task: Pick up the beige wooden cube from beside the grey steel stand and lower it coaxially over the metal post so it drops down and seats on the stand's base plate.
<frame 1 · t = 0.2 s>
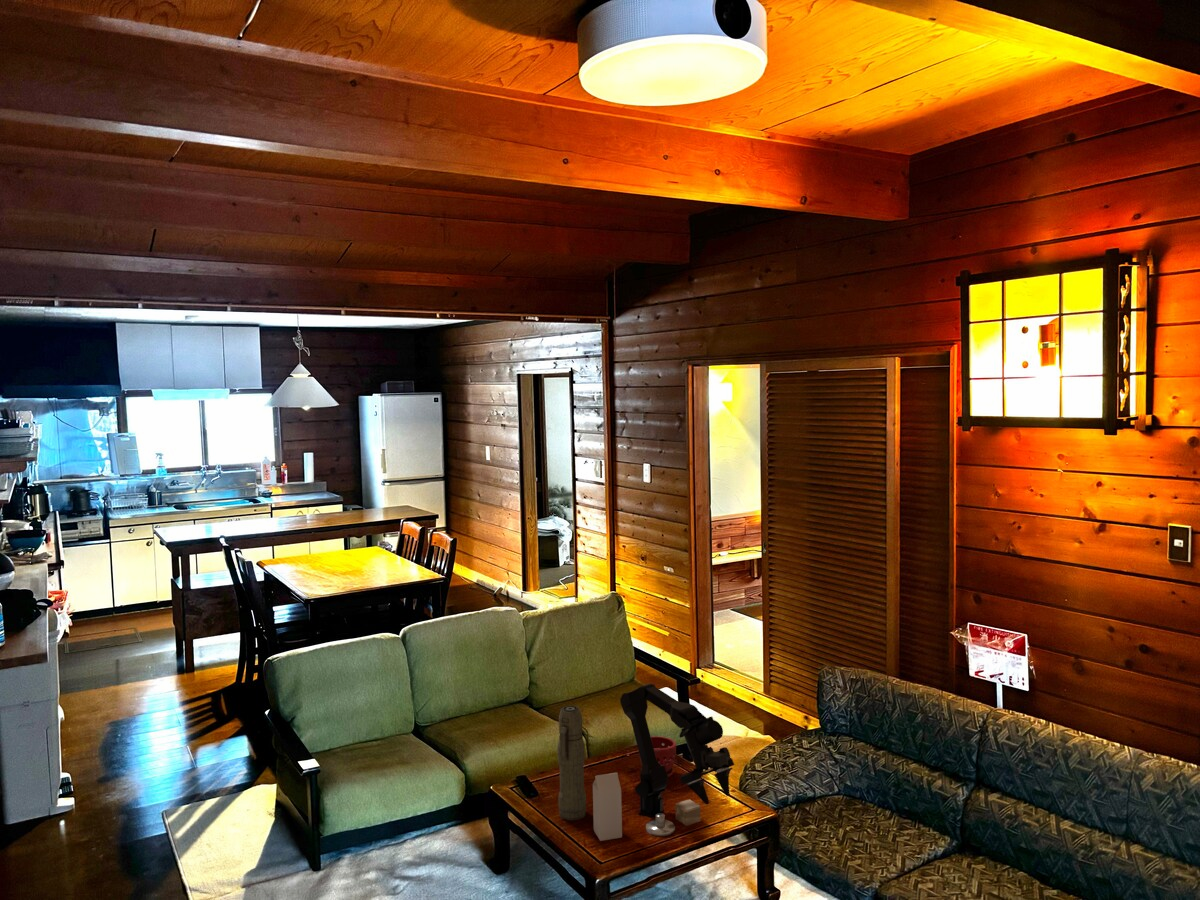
hand: (718, 799, 264), 15 cm above the table, tool tilted 30°, fingers open, 9 cm apart
beige wooden cube: (687, 820, 282), on the table
milk carton: (607, 834, 274), on the table
post stand: (660, 829, 277), on the table
thermos: (572, 814, 288), on the table
plant pot: (658, 775, 317), on the table
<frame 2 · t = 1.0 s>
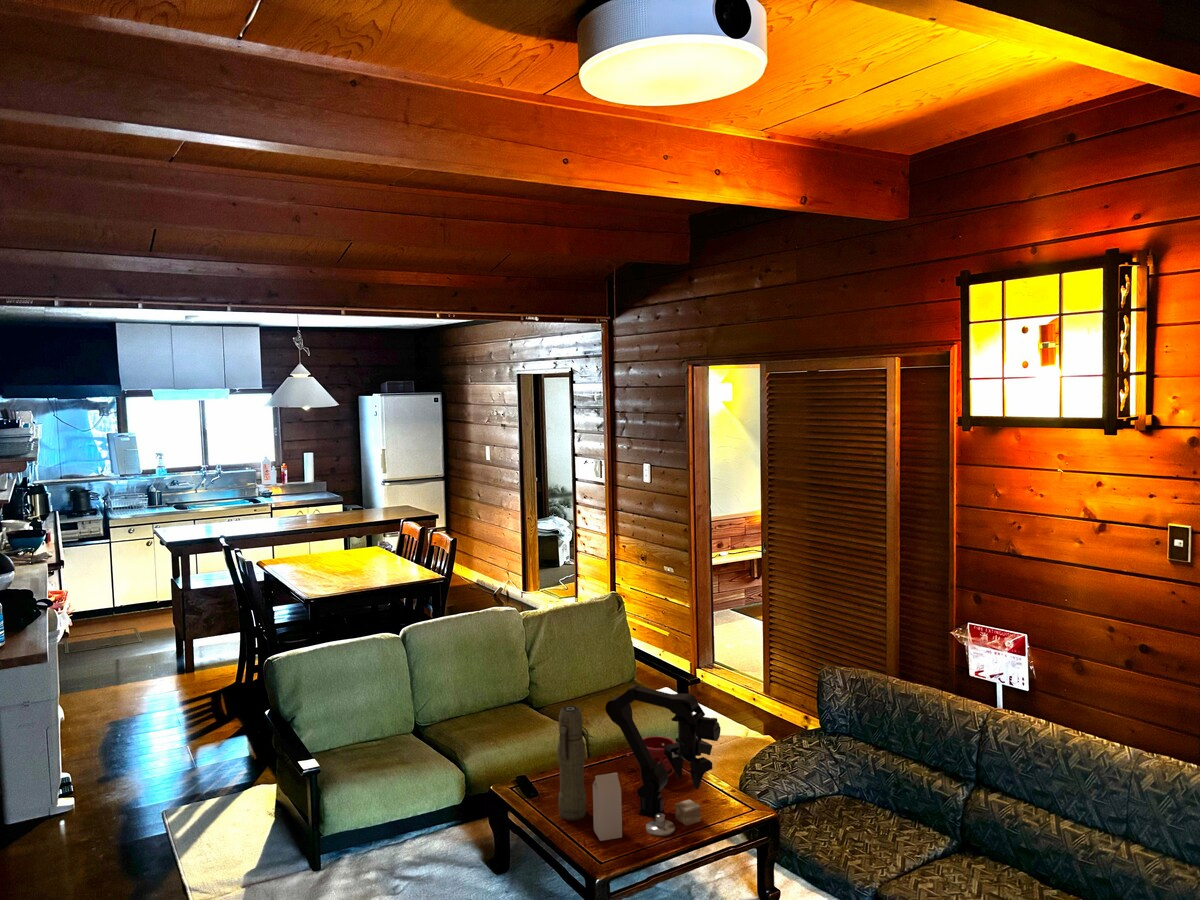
hand: (688, 783, 281), 12 cm above the table, tool pointing down, fingers open, 9 cm apart
nothing on the table moved.
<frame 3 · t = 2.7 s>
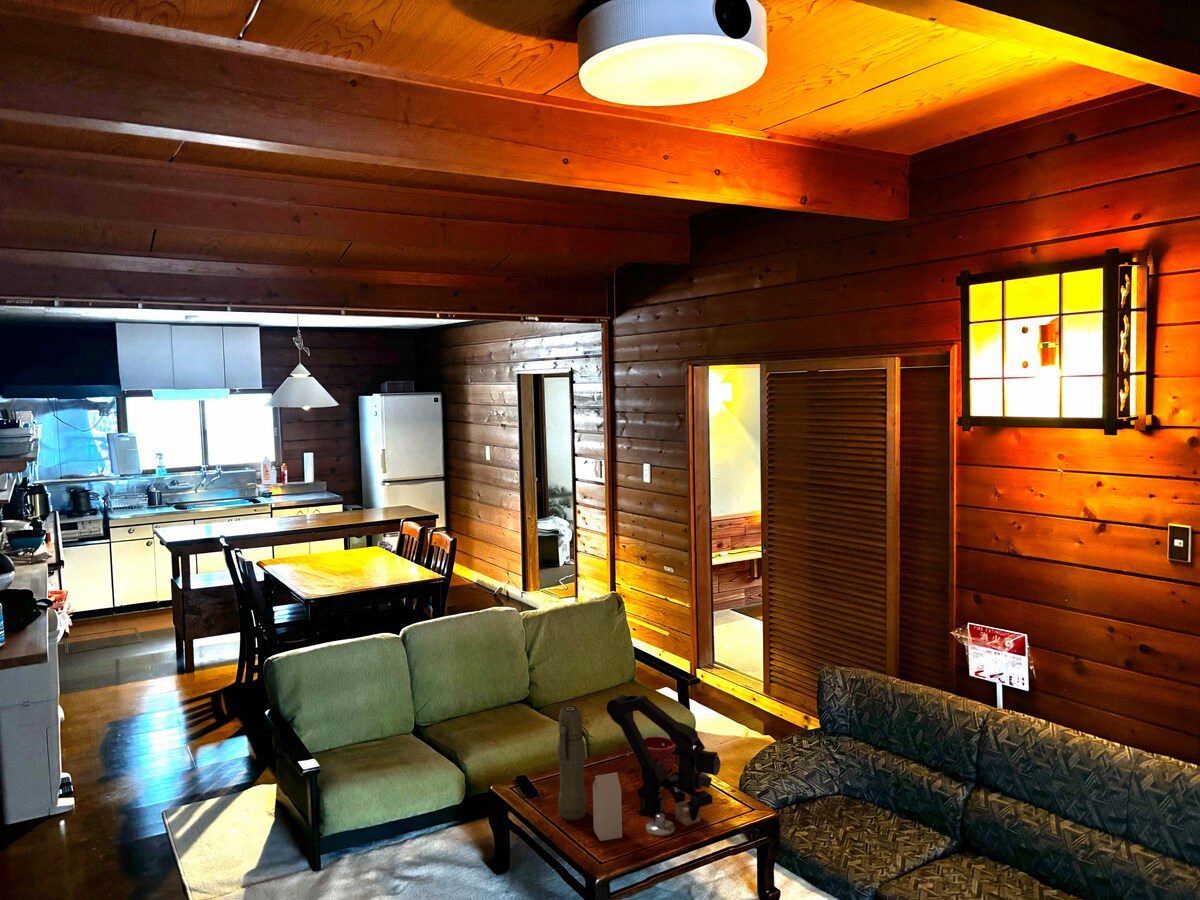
hand: (687, 816, 282), 1 cm above the table, tool pointing down, fingers closed on beige wooden cube, 6 cm apart
beige wooden cube: (688, 820, 282), on the table, touching gripper
everything else where it was.
when the fingers open (4 cm above the table, at t = 7.6 s): beige wooden cube drops 2 cm, resting on post stand.
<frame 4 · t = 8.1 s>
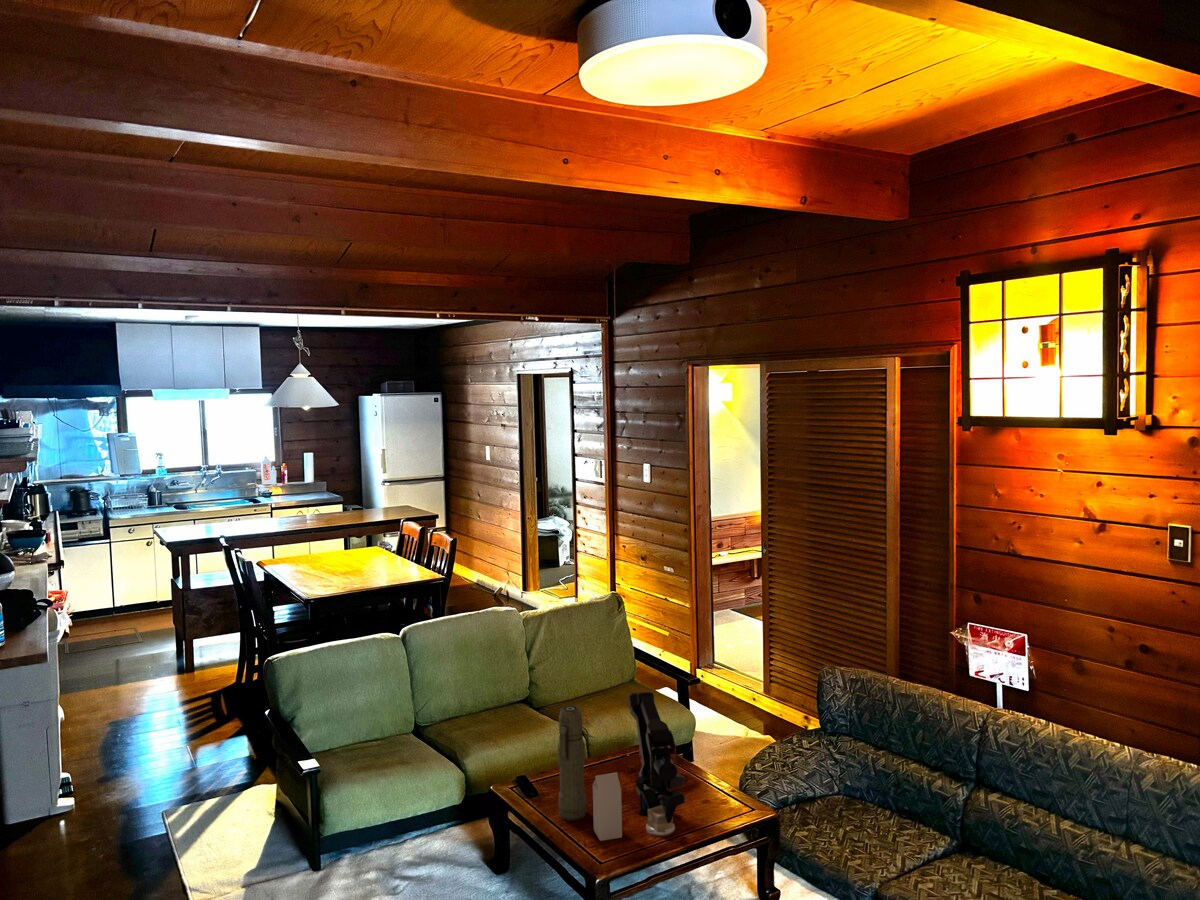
hand: (660, 816, 277), 4 cm above the table, tool pointing down, fingers open, 9 cm apart
beige wooden cube: (660, 826, 277), point 1 cm above the table, touching post stand
everything else where it was.
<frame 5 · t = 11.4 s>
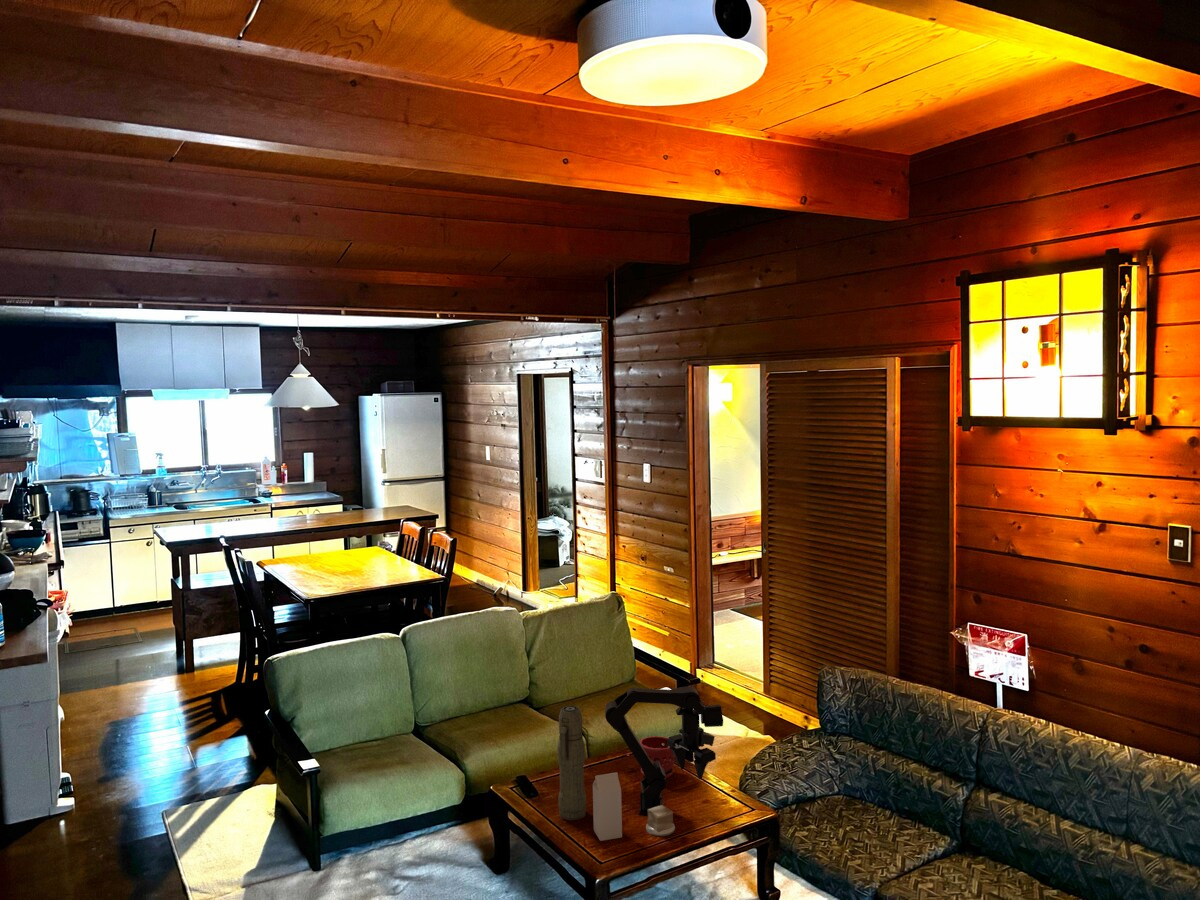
hand: (691, 774, 289), 12 cm above the table, tool pointing down, fingers open, 9 cm apart
nothing on the table moved.
at the end: beige wooden cube 0.0 cm off-centre on the post stand, point 1.0 cm above the post stand's base; beige wooden cube tilted 0°; the gripper is holding nothing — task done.
